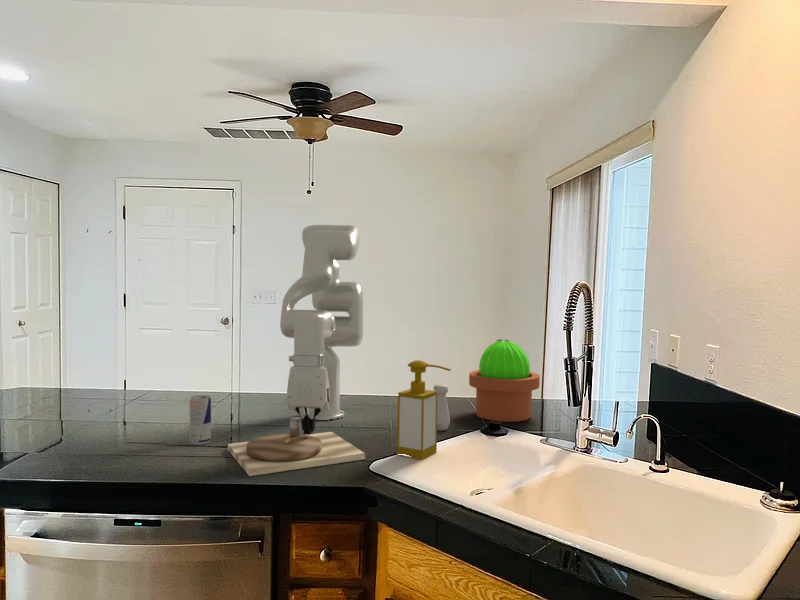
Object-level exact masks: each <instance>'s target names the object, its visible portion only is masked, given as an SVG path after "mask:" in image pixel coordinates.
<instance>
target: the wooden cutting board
mask: <svg viewBox="0 0 800 600" xmlns="http://www.w3.org/2000/svg"><path fill="white" fill-rule="evenodd" d="M309 436H313V437H316V438H318V439H320V440H321V442H322V446H321V451H320V452H319V453H318V454H316V455H314V456H311V457H308V458H304V459H299V460H291V461H266V460H260V459H255V458H252V457H250V456H249V455H247V453H246V445H247V443H248V442H249V441H243V442H241V441H240V442H234V443H228V444H227V451H228V452H229V453H230V454H231V456H232V457H233V459H235V460H236V461H237V463H238V464H239V465H240V466H241V468H242V469H243V470H244V472H245V473H246V474H247V475H248V476H249V477H252V476H261V475H266V474H267V475H268V474H272V473H273V474H274V473H279V472H286V471H287V472H288V471H294V470H295V471H296V470H301V469H307V468H314V467H315V468H316V467H321V466H329V465H335V464H341V463H349V462H356V461H362V460H366V453H365V452H363V450H361V449H359V448H358V447H356V446H354V445H353V444H352V443H350V442H348V441H347V440H345V439H344V438H343V437H340V436H339V435H337V434H336V433H335V432H332V431H327V432H317V433H311V434H310V435H309Z"/></svg>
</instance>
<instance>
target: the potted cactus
mask: <svg viewBox="0 0 800 600" xmlns="http://www.w3.org/2000/svg"><path fill="white" fill-rule="evenodd" d="M493 342H494V343H490V345H489V346H487V347H486V348H485V351H482V352H483V353H482V355H481V354H480V360H479V363H477V364H479V365H478V369H475V370H472V371H470V372H469V375H468V376H469V377H468V378H469V379H468V385H469V386H470V387H472V388H475V390H476V391H475V392H476V395H475V413H476V414H475V415H476V417H478V418H481V419H483V420H487V421H493V422H502V423H503V422H504V423H517V422H524V421H527V420H529V419H530V418H531V417H532V407H533V405H532V403H533V401H532V400H533V398H532V397H533V396H532V395H533V393H532V392H533V391H534V390H535V391H536V390H538V389H539V388H540V385H541V384H540V383H541V382H540V380H541V379H540V378H541V377H540V374H538V373H536V372H533V371H530V370H531V366H530V365H531V364H530V363H531V361H529V359H530V357H528V355H527V353H526V351H525V350H524V349H522V347H521V346H520V344H517V343H515V342H513V341H511V340H510V339H509V340H508V339H505V340H503V339H497V340H494V341H493Z"/></svg>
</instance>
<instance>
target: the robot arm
mask: <svg viewBox="0 0 800 600" xmlns="http://www.w3.org/2000/svg"><path fill="white" fill-rule="evenodd" d="M301 238H302V243H303V246H304V252H303V253H304V255H303V263H302V274H301V276H300V277H299V278H298V279H297V280H296V281H295V282H293V284H292V285H291V286H290V287H289V288H288V290H287V291H286V293H285V295H284V297H283V299H282V303H281V311H280V320H279V327H280V332H281V334H282V335H283V336H284V337H285V338H289V339H294V340H293V354H292V355H289V356H288V361H289V362H293V365H292V366H290V369H289V373H288V381H287V387H286V403H287V405H288V406H287V409H288V410H291V411H294V412H296V413H297V414H298V415H299V416H300V417H299V418H300V419H301V430H302V431H303V435H310V434H314V431H315V430H316V421H331V420H330V419H333V420H337V418H339V419H341V417H342V418H344V416H345V411H344V410H342V409H341V408H340V403H341V402H340V399H341V398H340V396H341V395H340V393H341V392H340V390H341V387H340V386H341V385H340V383H341V381H340V380H341V362H340V357H339V356H338V354H337V353H336V352H335V350H334V349H333V347H335V348H336V347H339V348H340V347H345V348H346V347H349V348H350V347H351V348H353V347H358V346H360V345H361V344H362V341H363V336H364V335H363V334H364V294H363V289H362V287H361V285H360V284H359V283H358V282H354V281H341V280H340V264H339V263H338V261H352V260H354V259H355V258H356V256H357V253H358V249H359V245H360V233H359V230H358V229H357V227H356V226H355V225H350V224H347V225H345V224H341V225H340V224H312V225H308V226H306V227H304V228H303V229H302V232H301ZM310 295H311V302H312V306H313V309H294V308H295V306H296V304H297V303H298V302H299V301H301V299H303V298H306V297H307V296H310ZM334 312H335V313H342V312H343V313H347V314H348V316H343V315H341V316H336V315H333V314H332V313H334Z"/></svg>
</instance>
